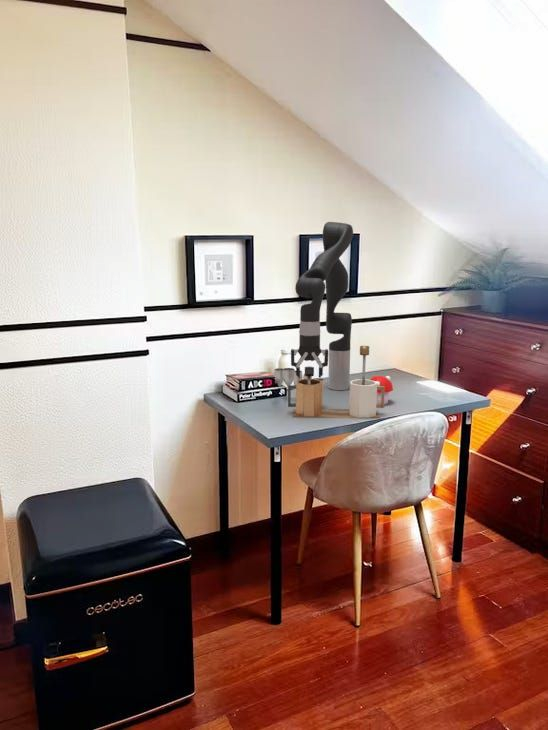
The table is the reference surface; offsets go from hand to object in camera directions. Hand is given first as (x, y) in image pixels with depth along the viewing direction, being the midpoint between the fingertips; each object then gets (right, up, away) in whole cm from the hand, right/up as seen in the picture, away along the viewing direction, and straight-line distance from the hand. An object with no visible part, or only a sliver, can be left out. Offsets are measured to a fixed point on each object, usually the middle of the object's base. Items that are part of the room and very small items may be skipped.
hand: (309, 377), depth 228 cm
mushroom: (+29, -12, +18) cm, 36 cm away
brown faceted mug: (-2, -13, +3) cm, 14 cm away
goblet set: (-3, -11, +20) cm, 23 cm away
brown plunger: (+20, -5, 0) cm, 21 cm away
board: (+10, -15, +3) cm, 18 cm away
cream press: (+22, -14, +2) cm, 26 cm away
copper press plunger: (0, -12, +3) cm, 13 cm away
